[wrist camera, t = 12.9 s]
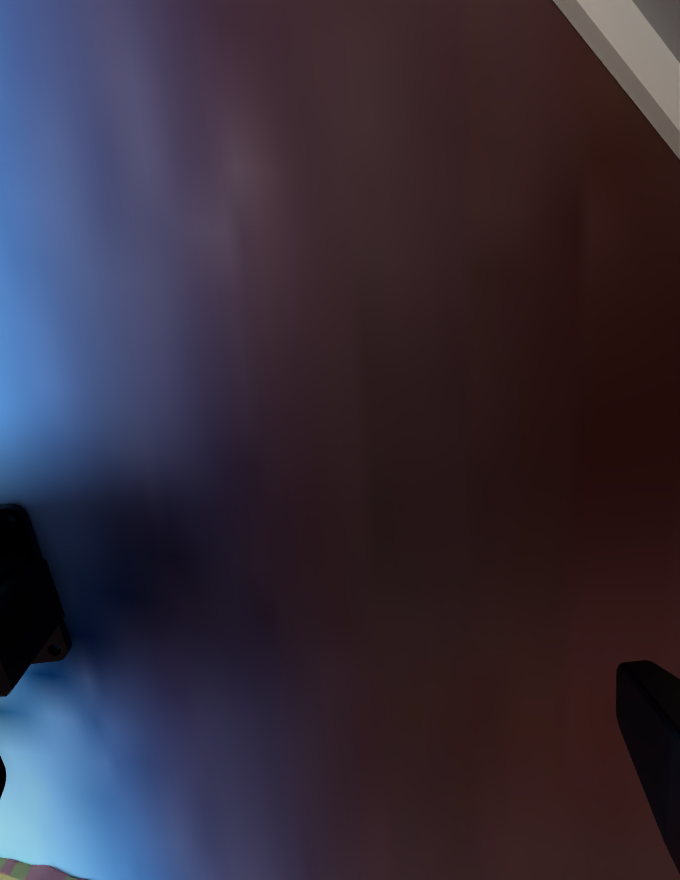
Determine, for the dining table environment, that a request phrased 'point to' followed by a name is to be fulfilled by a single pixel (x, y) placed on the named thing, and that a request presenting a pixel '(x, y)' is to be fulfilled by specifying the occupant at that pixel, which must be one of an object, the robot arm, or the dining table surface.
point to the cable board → (637, 53)
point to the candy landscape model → (29, 871)
